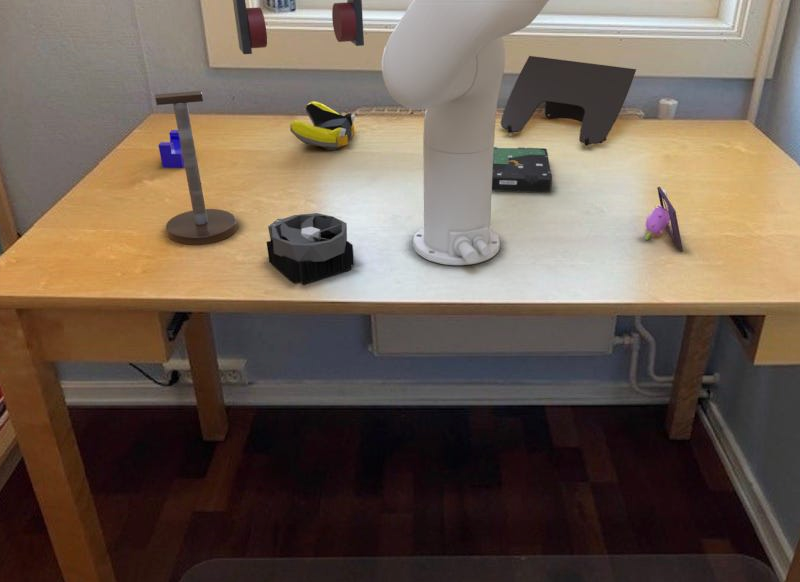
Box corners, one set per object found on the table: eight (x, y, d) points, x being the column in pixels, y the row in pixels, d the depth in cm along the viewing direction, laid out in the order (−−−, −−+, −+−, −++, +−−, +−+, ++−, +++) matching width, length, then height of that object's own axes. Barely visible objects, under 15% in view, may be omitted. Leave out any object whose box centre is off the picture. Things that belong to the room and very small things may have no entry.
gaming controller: (289, 152, 144) (342, 155, 143) (286, 123, 141) (340, 126, 140) (310, 126, 156) (359, 129, 156) (307, 99, 153) (358, 101, 152)
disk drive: (552, 194, 131) (545, 161, 143) (553, 178, 129) (546, 146, 141) (490, 193, 131) (489, 160, 143) (491, 177, 129) (489, 145, 141)
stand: (241, 239, 114) (221, 101, 103) (169, 249, 111) (140, 108, 100) (232, 212, 122) (212, 81, 110) (165, 220, 119) (137, 86, 107)
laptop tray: (495, 157, 160) (490, 124, 153) (531, 82, 170) (528, 46, 163) (605, 176, 153) (605, 142, 146) (635, 96, 163) (637, 60, 156)
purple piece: (680, 209, 110) (664, 184, 118) (644, 220, 111) (630, 195, 118) (688, 249, 114) (671, 223, 121) (652, 260, 115) (638, 233, 122)
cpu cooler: (360, 231, 104) (291, 251, 99) (362, 269, 107) (296, 290, 102) (322, 205, 111) (256, 222, 106) (325, 241, 114) (261, 260, 109)
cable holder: (183, 167, 137) (178, 145, 134) (162, 167, 136) (158, 145, 134) (195, 151, 143) (191, 130, 141) (175, 151, 143) (171, 129, 141)
